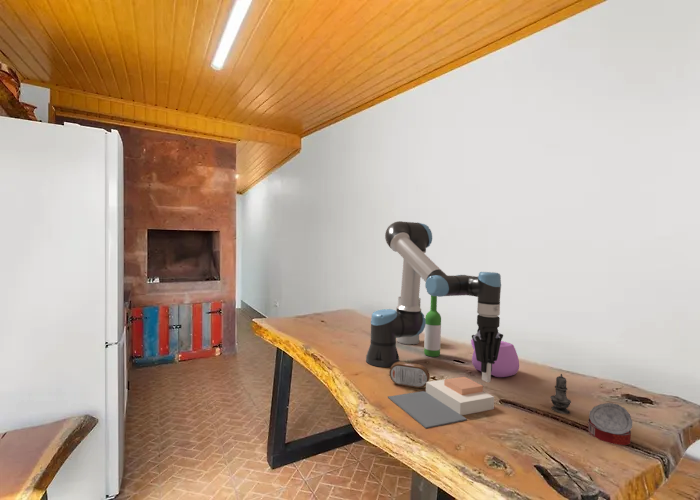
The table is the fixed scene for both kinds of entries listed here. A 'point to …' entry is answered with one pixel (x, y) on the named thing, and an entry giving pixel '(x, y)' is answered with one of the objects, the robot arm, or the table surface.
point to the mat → (426, 409)
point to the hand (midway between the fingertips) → (486, 380)
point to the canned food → (610, 424)
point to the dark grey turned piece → (560, 396)
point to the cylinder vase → (408, 339)
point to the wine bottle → (432, 330)
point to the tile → (463, 385)
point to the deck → (460, 398)
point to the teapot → (501, 360)
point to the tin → (409, 374)
